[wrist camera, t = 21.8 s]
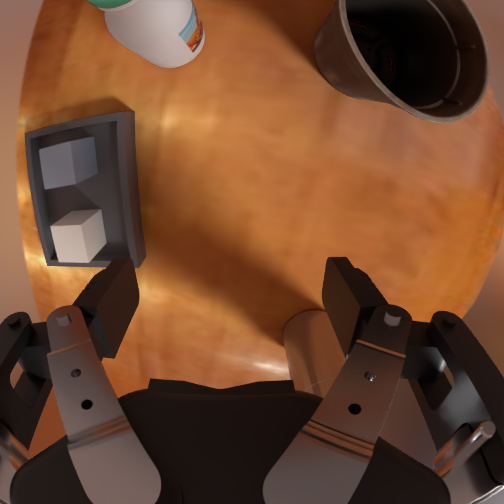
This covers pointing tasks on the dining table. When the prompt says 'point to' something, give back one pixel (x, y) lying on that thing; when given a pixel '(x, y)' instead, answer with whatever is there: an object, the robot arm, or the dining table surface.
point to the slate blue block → (68, 162)
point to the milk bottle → (155, 29)
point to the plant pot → (407, 55)
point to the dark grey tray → (92, 186)
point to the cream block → (79, 236)
